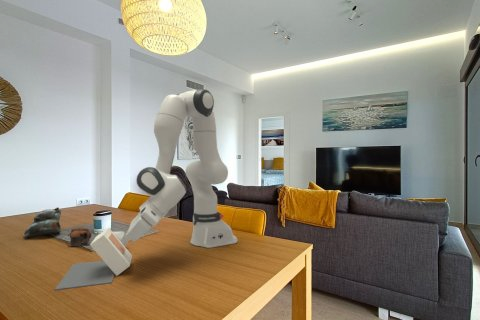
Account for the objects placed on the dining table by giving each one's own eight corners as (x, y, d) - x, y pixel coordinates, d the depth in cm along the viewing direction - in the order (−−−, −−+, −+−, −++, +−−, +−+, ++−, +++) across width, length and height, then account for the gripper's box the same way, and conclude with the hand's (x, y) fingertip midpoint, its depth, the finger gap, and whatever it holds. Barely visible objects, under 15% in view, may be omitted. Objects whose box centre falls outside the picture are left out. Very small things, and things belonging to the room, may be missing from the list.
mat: (119, 259, 102) (119, 258, 102) (111, 282, 83) (111, 282, 83) (74, 264, 97) (74, 263, 97) (54, 290, 78) (54, 289, 78)
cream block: (132, 255, 99) (109, 227, 97) (130, 265, 90) (104, 234, 87) (120, 264, 98) (96, 236, 95) (116, 275, 88) (89, 244, 86)
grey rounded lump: (15, 239, 126) (21, 208, 133) (41, 242, 138) (45, 213, 145) (44, 231, 124) (48, 200, 130) (68, 234, 136) (71, 206, 142)
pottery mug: (60, 248, 116) (64, 229, 120) (78, 251, 124) (81, 233, 128) (82, 243, 113) (85, 224, 117) (98, 246, 121) (101, 229, 125)
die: (112, 256, 107) (128, 236, 110) (96, 245, 108) (112, 225, 111) (120, 256, 115) (135, 237, 117) (105, 246, 116) (120, 227, 119)
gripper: (145, 202, 105) (119, 227, 102) (143, 212, 86) (110, 244, 83) (157, 212, 107) (131, 238, 104) (157, 224, 87) (125, 256, 84)
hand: (122, 241), depth 93 cm, fingers closed
